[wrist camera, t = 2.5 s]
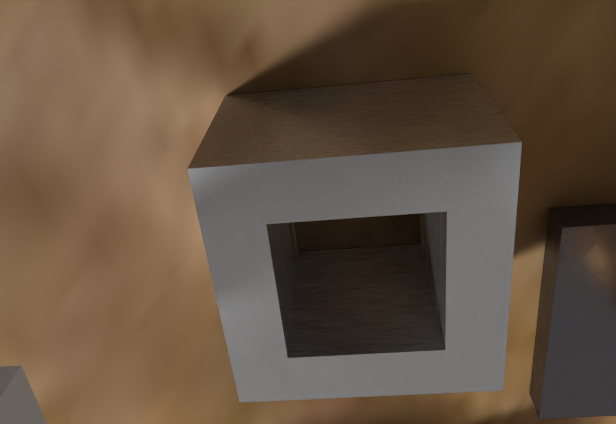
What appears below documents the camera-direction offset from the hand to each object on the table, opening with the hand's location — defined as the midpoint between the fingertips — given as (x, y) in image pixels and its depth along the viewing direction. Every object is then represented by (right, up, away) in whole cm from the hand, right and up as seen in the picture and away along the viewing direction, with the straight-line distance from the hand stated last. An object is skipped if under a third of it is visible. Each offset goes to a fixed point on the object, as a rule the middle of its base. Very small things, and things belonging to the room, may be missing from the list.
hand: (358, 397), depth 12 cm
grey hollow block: (0, +4, +7) cm, 8 cm away
